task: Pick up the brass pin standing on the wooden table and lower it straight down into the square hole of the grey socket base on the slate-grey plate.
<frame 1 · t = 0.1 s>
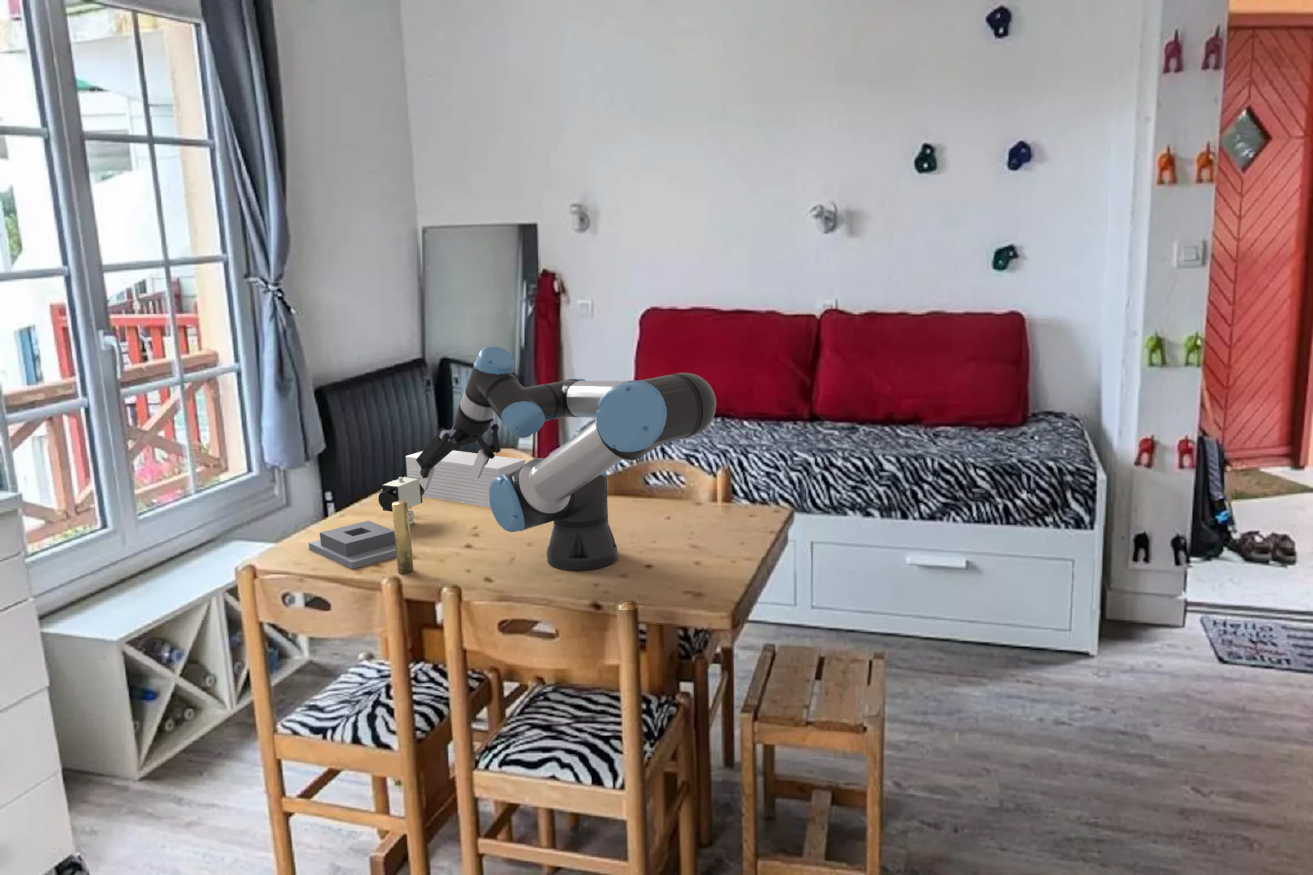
hand: (449, 480, 230), 15 cm above the table, tool tilted 35°, fingers open, 13 cm apart
pneumatic valve: (403, 525, 250), on the table
grey socket base: (359, 551, 232), on the table
brass pin: (405, 571, 218), on the table
stack of papers: (467, 498, 274), on the table
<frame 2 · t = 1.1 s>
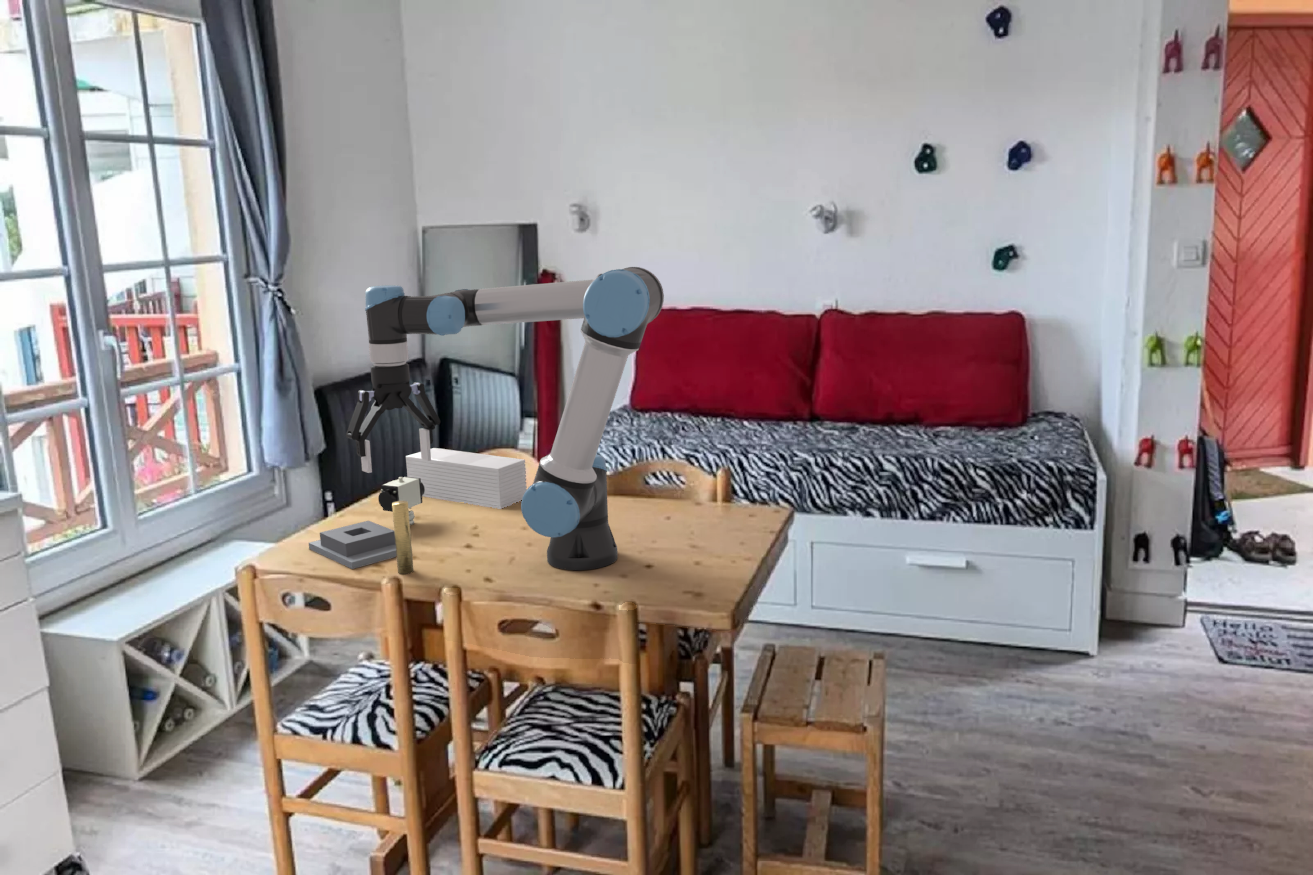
hand: (397, 465, 213), 23 cm above the table, tool pointing down, fingers open, 13 cm apart
nothing on the table moved.
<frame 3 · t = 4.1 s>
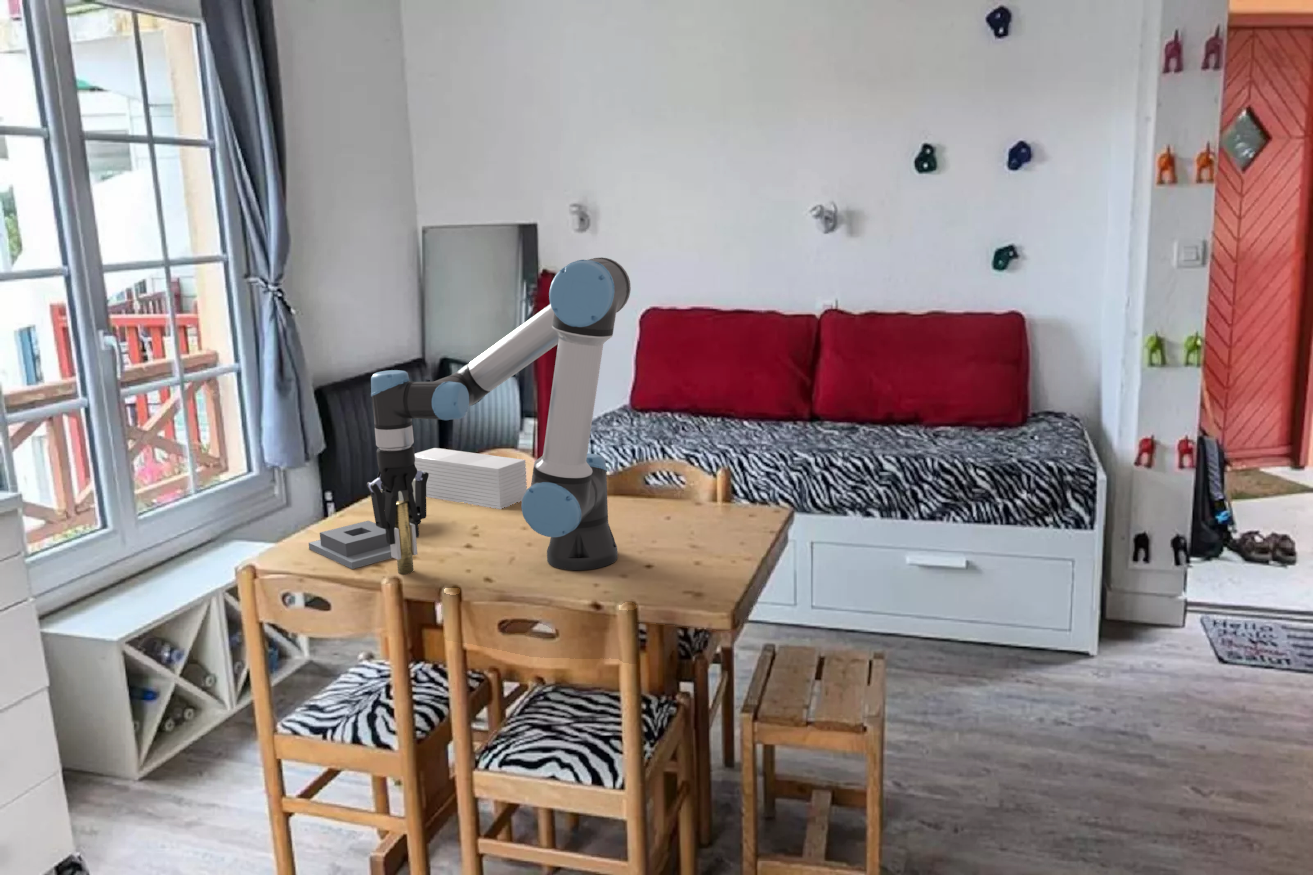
hand: (404, 555, 217), 4 cm above the table, tool pointing down, fingers closed on brass pin, 3 cm apart
brass pin: (405, 571, 218), on the table, touching gripper
everything else where it was.
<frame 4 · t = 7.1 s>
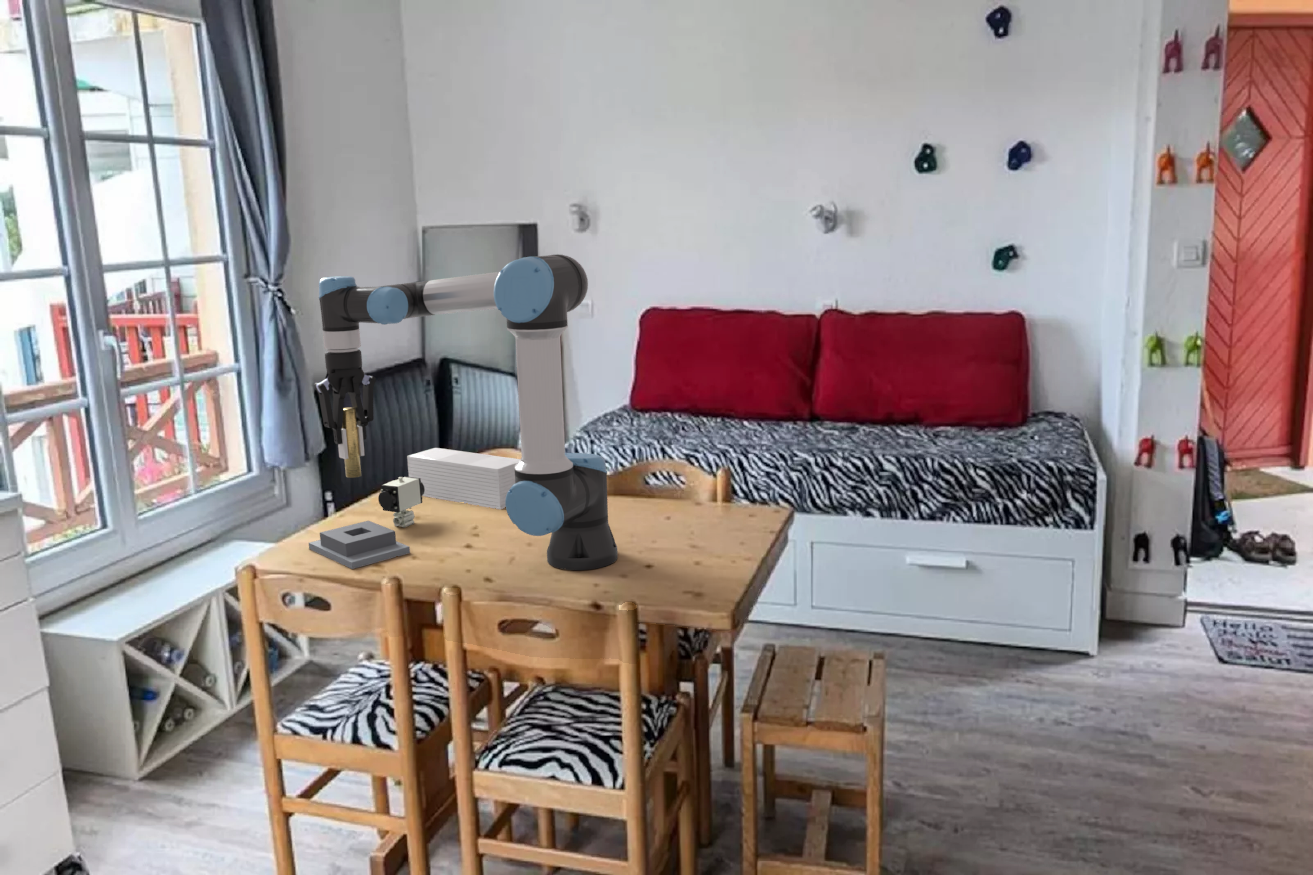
hand: (351, 456, 226), 22 cm above the table, tool pointing down, fingers closed on brass pin, 3 cm apart
brass pin: (353, 475, 227), point 18 cm above the table, touching gripper
everything else where it was.
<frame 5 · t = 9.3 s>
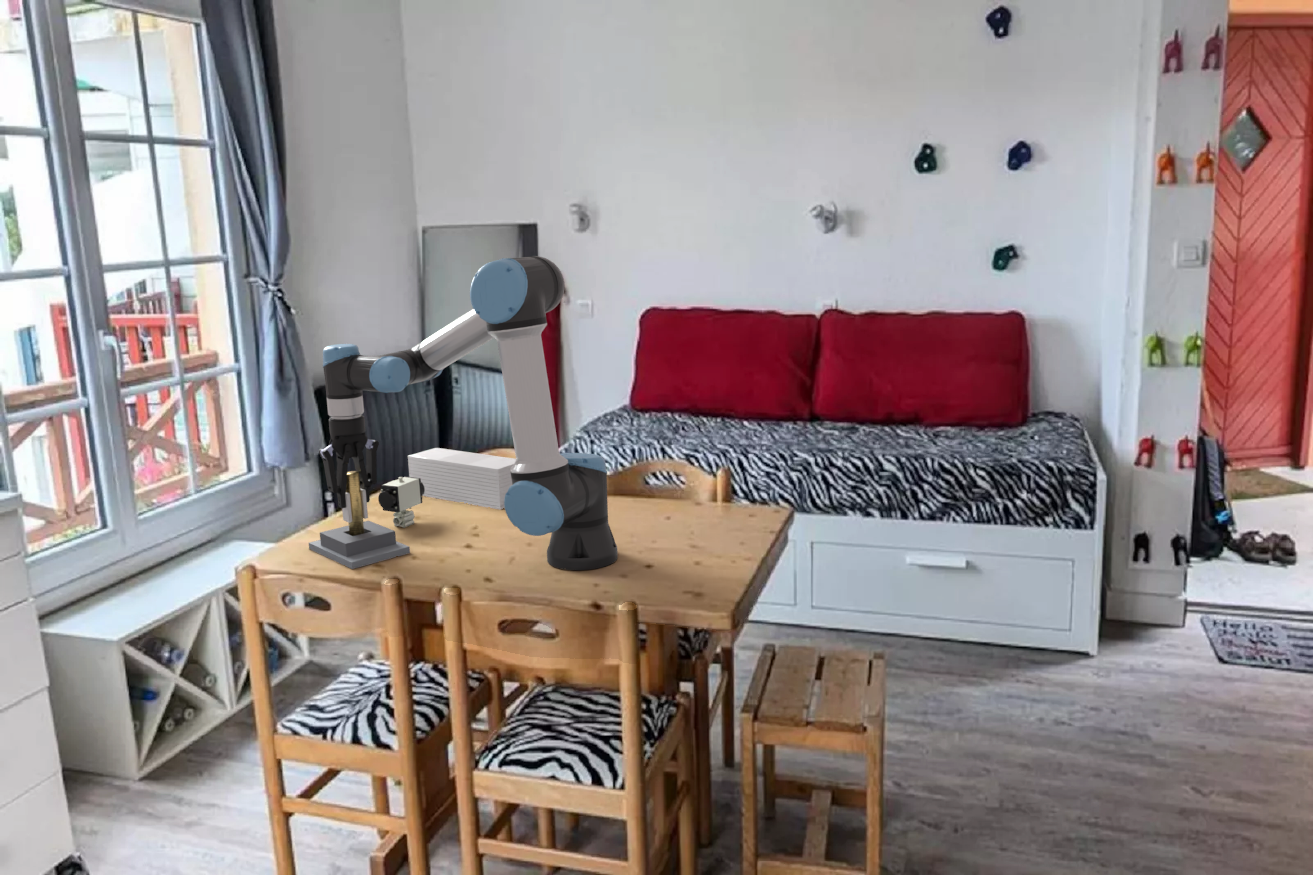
hand: (355, 518, 230), 7 cm above the table, tool pointing down, fingers closed on brass pin, 3 cm apart
brass pin: (357, 537, 231), point 3 cm above the table, touching gripper
everything else where it was.
when the fingers open (6 cm above the table, at t = 10.5 s): brass pin stays where it is, resting on grey socket base.
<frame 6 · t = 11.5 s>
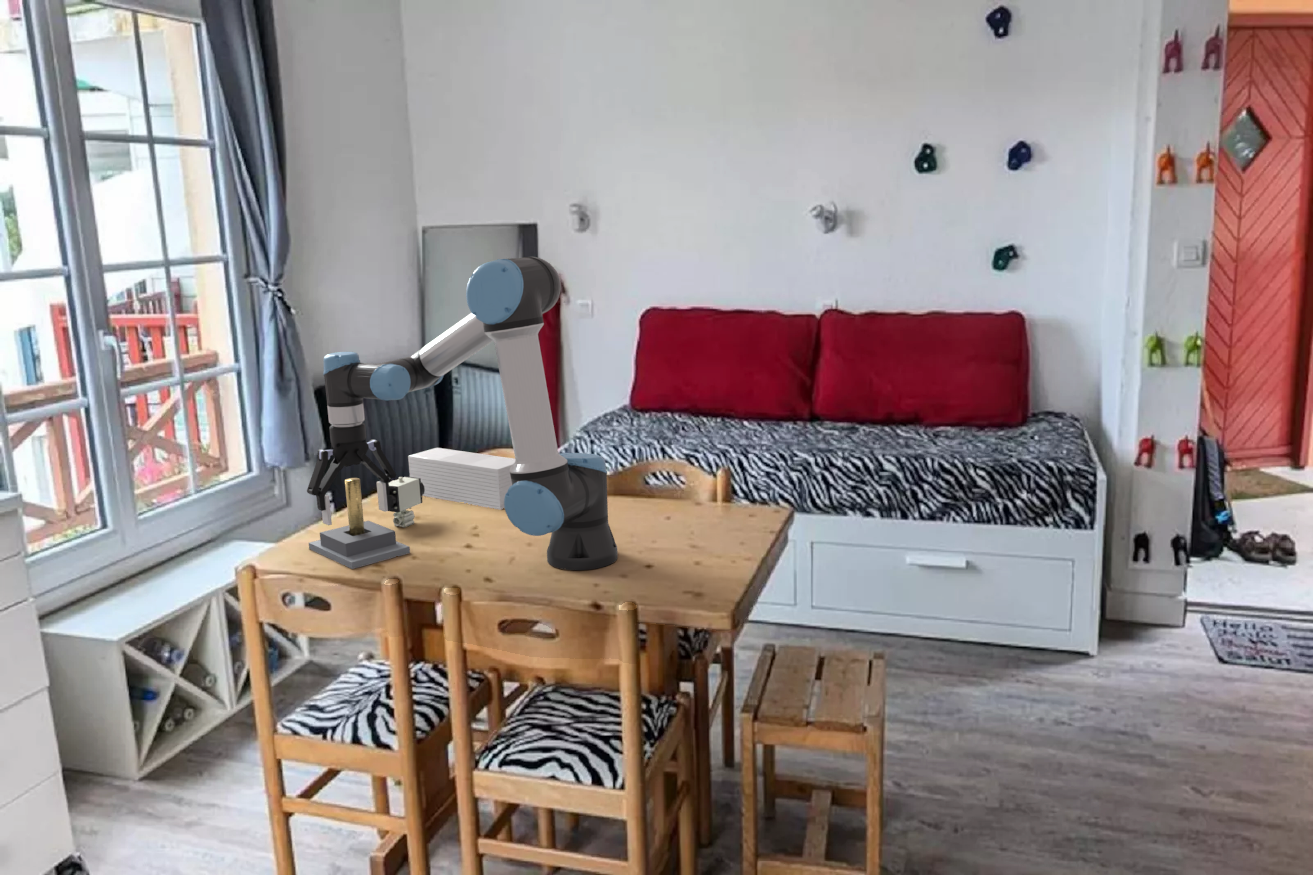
hand: (355, 517, 230), 8 cm above the table, tool pointing down, fingers open, 13 cm apart
brass pin: (358, 544, 232), point 2 cm above the table, touching grey socket base
everything else where it was.
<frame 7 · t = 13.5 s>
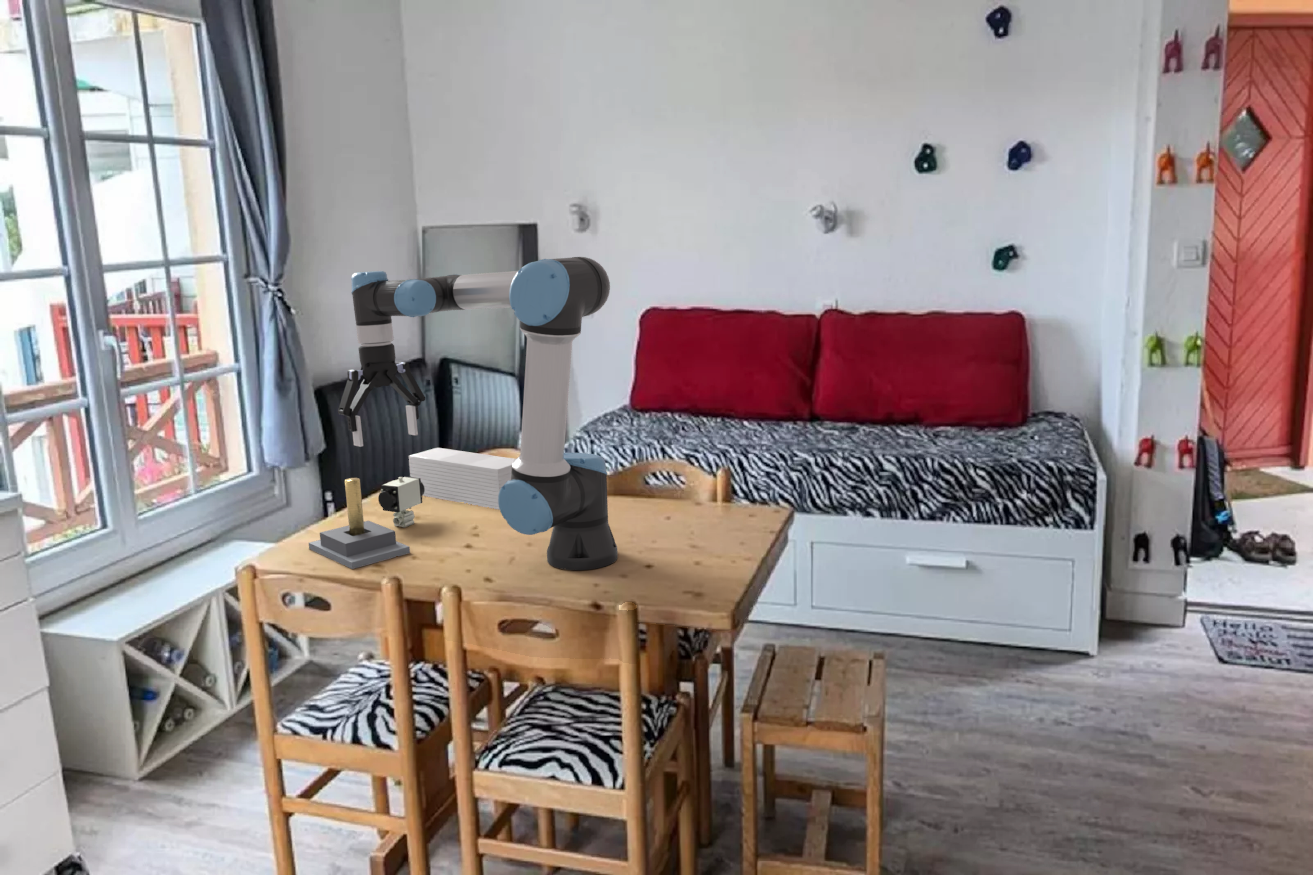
hand: (386, 440, 228), 25 cm above the table, tool pointing down, fingers open, 13 cm apart
nothing on the table moved.
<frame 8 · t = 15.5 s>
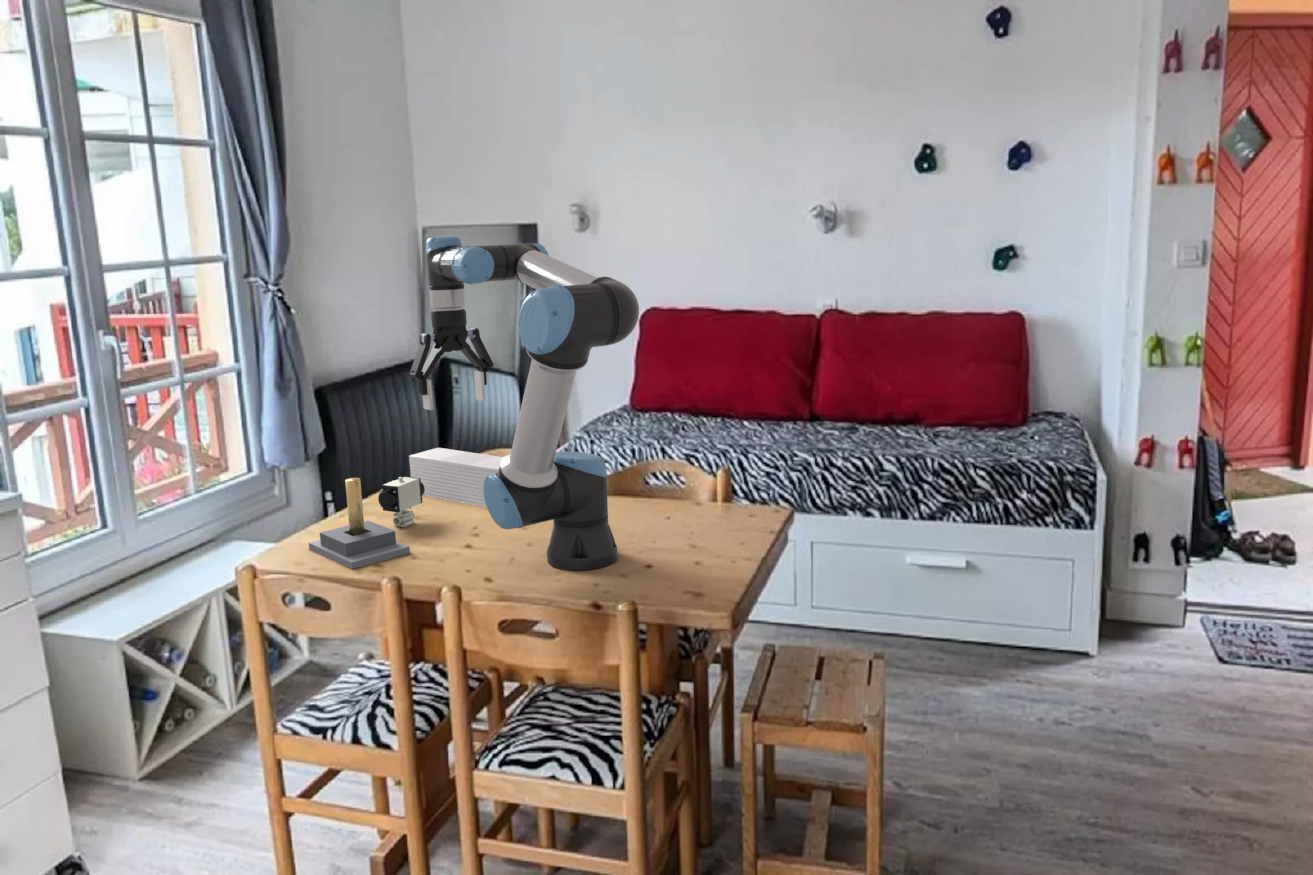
hand: (455, 404, 230), 32 cm above the table, tool pointing down, fingers open, 13 cm apart
nothing on the table moved.
at the end: brass pin 0.1 cm off-centre on the grey socket base, point 1.5 cm above the grey socket base's base; brass pin tilted 0°; the gripper is holding nothing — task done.
